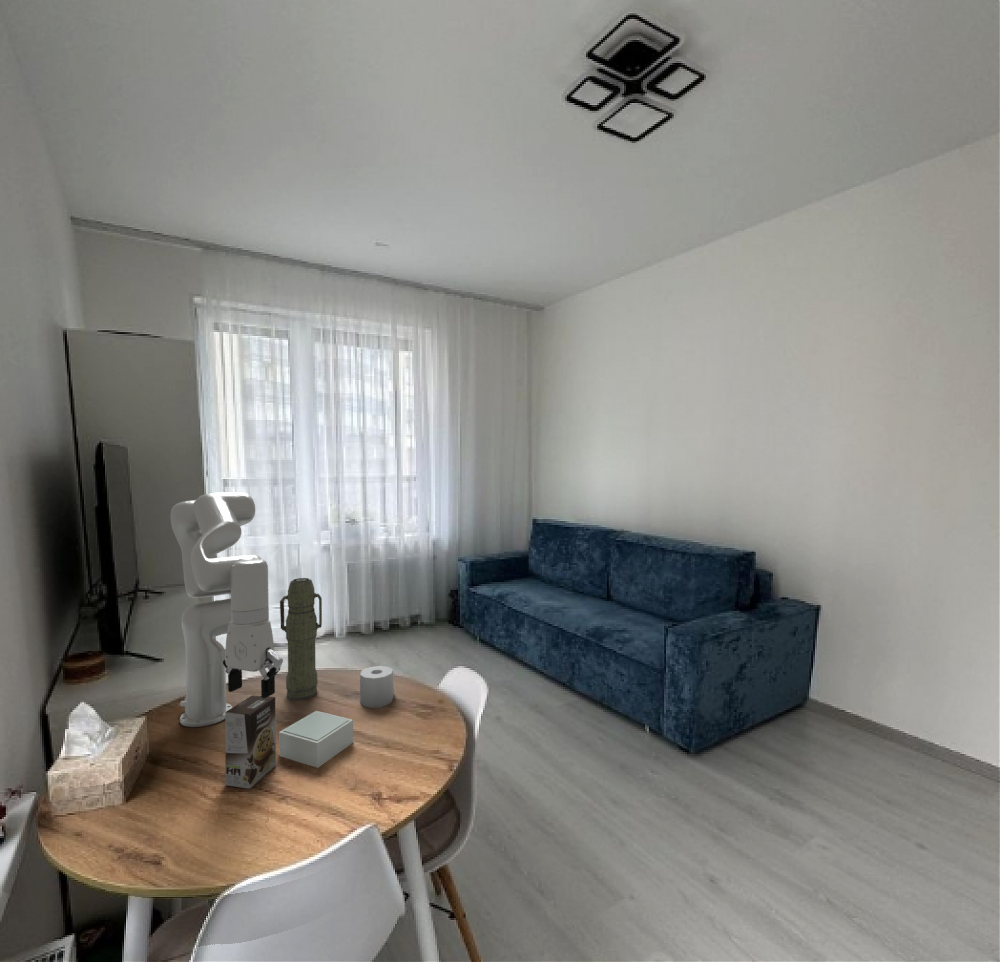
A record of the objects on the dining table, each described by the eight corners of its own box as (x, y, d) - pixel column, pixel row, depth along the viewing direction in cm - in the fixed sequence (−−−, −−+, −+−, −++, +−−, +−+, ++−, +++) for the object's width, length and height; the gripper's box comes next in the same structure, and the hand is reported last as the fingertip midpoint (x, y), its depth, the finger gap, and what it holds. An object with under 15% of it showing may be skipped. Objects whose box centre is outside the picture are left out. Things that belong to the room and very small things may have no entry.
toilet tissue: (396, 688, 160) (395, 660, 160) (390, 707, 147) (389, 677, 147) (366, 689, 160) (366, 661, 159) (358, 708, 146) (357, 678, 146)
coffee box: (250, 789, 109) (249, 714, 109) (224, 785, 110) (223, 711, 110) (277, 765, 118) (276, 696, 118) (252, 762, 119) (252, 693, 119)
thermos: (281, 691, 158) (280, 578, 157) (321, 685, 162) (320, 575, 162) (280, 703, 150) (279, 584, 149) (322, 696, 154) (322, 580, 153)
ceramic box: (279, 756, 122) (279, 731, 122) (316, 733, 133) (316, 709, 133) (317, 768, 117) (317, 741, 117) (353, 743, 128) (352, 718, 128)
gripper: (206, 616, 113) (208, 693, 113) (266, 623, 107) (267, 705, 107) (235, 608, 120) (237, 681, 120) (293, 614, 114) (294, 691, 114)
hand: (251, 692), depth 113 cm, fingers open, 9 cm apart
